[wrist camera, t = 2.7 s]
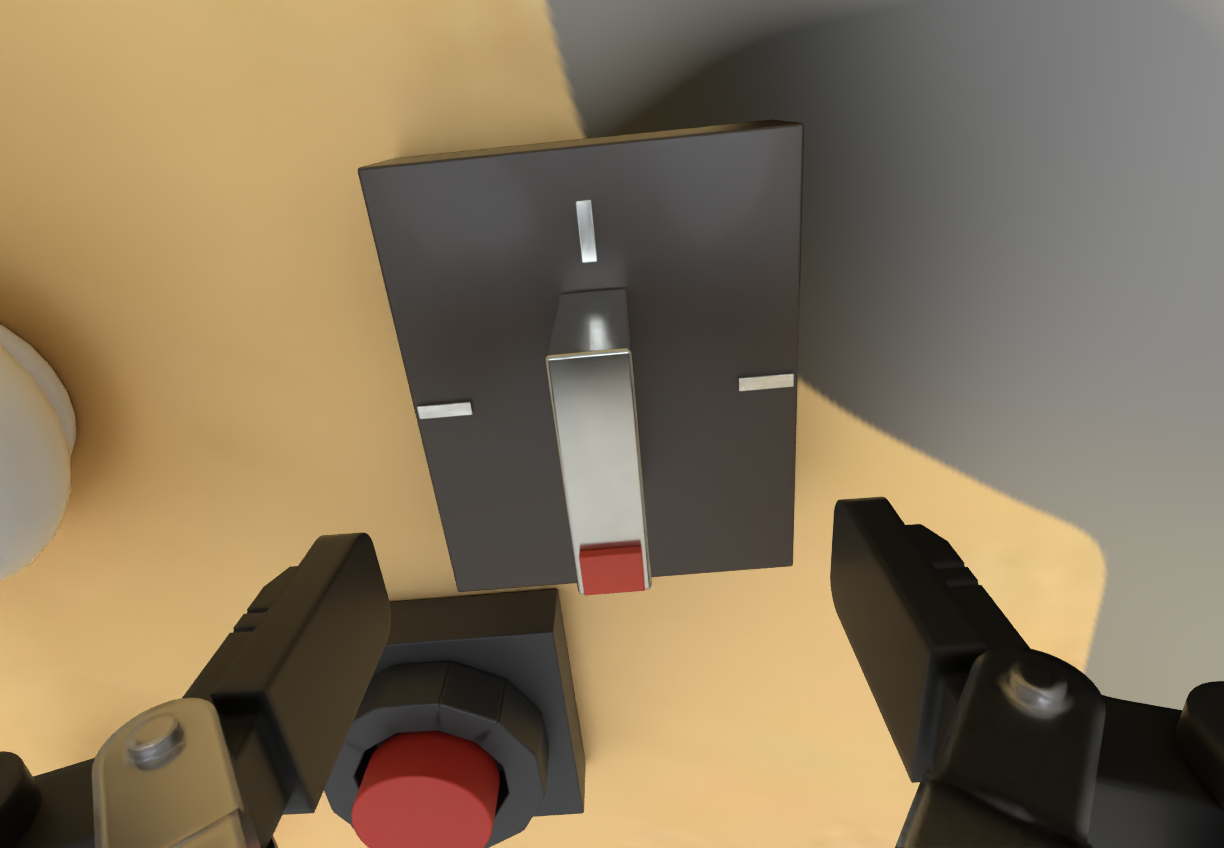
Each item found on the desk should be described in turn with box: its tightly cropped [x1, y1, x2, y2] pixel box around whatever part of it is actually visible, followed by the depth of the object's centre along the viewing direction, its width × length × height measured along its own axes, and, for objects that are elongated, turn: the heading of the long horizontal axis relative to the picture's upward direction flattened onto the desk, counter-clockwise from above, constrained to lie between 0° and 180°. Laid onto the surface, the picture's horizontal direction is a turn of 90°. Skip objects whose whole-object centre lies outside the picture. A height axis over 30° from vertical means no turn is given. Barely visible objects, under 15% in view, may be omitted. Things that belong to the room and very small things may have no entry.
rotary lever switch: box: [358, 120, 804, 592], centre depth 19 cm, size 12×10×3 cm
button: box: [351, 730, 500, 848], centre depth 22 cm, size 4×4×2 cm
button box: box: [324, 589, 586, 848], centre depth 24 cm, size 9×9×4 cm
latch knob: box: [545, 289, 652, 595], centre depth 15 cm, size 6×2×5 cm, turn 5°
